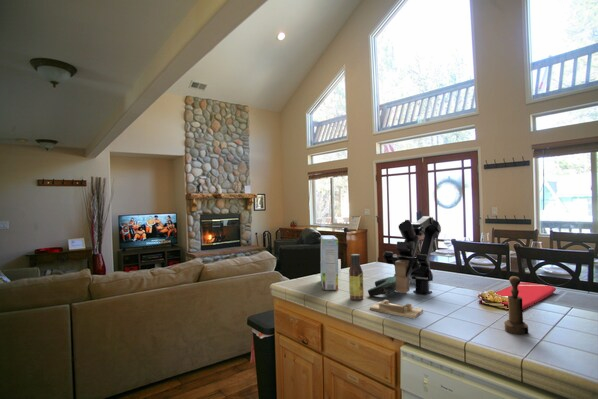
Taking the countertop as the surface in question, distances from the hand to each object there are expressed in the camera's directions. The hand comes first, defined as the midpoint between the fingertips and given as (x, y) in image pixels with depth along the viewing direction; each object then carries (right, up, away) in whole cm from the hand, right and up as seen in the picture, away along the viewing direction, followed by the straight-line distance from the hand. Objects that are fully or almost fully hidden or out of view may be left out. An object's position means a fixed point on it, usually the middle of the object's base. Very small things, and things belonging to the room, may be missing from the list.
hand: (401, 275), depth 137 cm
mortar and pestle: (+29, -12, -28) cm, 42 cm away
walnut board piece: (+1, -7, +1) cm, 7 cm away
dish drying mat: (+54, -12, +8) cm, 56 cm away
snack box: (-26, -14, +38) cm, 48 cm away
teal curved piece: (-6, -12, +23) cm, 27 cm away
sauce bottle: (-16, -13, +13) cm, 25 cm away
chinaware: (+21, -13, +41) cm, 48 cm away
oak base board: (-4, -13, -6) cm, 14 cm away
